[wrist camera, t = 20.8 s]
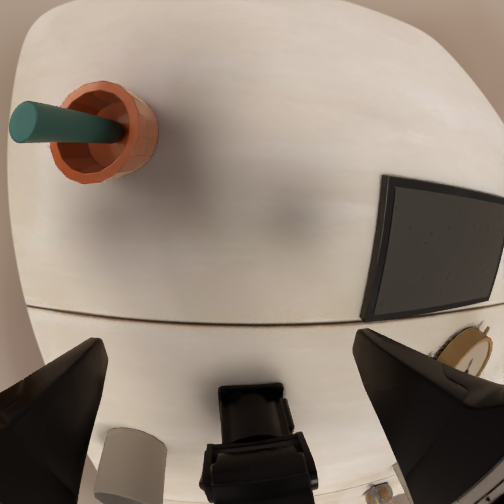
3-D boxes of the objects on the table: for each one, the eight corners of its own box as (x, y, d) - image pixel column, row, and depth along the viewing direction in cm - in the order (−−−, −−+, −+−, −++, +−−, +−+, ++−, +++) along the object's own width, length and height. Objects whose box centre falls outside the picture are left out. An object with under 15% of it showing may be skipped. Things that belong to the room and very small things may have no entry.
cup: (98, 424, 27) (80, 485, 18) (156, 430, 28) (148, 499, 18) (120, 456, 30) (110, 509, 21) (172, 460, 31) (169, 518, 21)
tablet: (359, 317, 25) (364, 323, 24) (381, 174, 21) (388, 175, 19) (483, 297, 27) (489, 301, 26) (506, 198, 23) (512, 200, 22)
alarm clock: (487, 370, 29) (421, 437, 27) (467, 357, 33) (402, 417, 32) (498, 320, 25) (424, 399, 23) (473, 306, 30) (399, 376, 28)
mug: (389, 484, 47) (398, 502, 40) (365, 496, 47) (372, 514, 41) (385, 475, 42) (395, 496, 36) (357, 488, 43) (365, 510, 37)
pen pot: (85, 179, 18) (51, 188, 14) (85, 102, 16) (52, 92, 12) (158, 173, 19) (139, 179, 14) (160, 91, 17) (142, 73, 12)
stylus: (107, 145, 17) (7, 146, 7) (107, 123, 17) (9, 106, 6) (127, 142, 17) (36, 139, 7) (128, 120, 17) (38, 96, 7)
